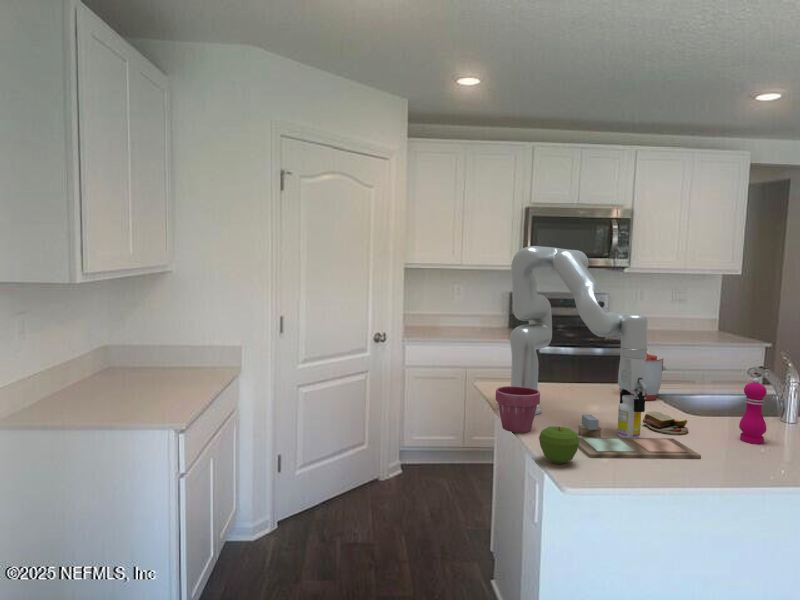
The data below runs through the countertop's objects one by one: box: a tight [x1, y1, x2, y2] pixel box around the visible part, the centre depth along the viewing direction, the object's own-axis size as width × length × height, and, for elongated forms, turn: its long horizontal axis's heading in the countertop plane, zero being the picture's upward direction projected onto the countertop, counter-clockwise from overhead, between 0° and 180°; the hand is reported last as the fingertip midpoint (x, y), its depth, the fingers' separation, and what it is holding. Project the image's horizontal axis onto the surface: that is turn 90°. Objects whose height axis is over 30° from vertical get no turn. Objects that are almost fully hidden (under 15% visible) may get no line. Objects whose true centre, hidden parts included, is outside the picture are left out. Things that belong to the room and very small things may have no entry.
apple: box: [538, 425, 580, 465], centre depth 153 cm, size 11×10×10 cm
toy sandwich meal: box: [642, 411, 689, 435], centre depth 187 cm, size 12×14×5 cm
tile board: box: [578, 436, 702, 460], centre depth 166 cm, size 32×15×1 cm, turn 92°
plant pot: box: [495, 385, 541, 434], centre depth 183 cm, size 14×14×13 cm
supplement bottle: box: [617, 395, 642, 438], centre depth 177 cm, size 7×7×13 cm
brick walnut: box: [577, 424, 602, 438], centre depth 178 cm, size 6×3×3 cm, turn 93°
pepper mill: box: [738, 377, 768, 445], centre depth 176 cm, size 7×7×20 cm
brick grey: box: [581, 414, 600, 430], centre depth 178 cm, size 6×3×3 cm, turn 3°
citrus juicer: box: [631, 352, 667, 401], centre depth 230 cm, size 16×17×20 cm
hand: (631, 407), depth 177 cm, fingers open, 9 cm apart
